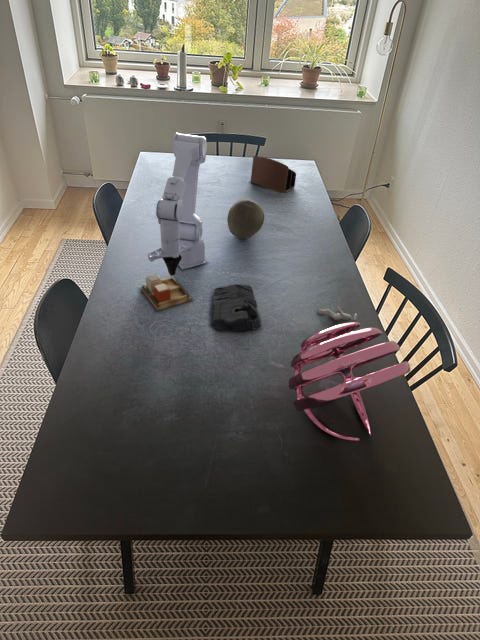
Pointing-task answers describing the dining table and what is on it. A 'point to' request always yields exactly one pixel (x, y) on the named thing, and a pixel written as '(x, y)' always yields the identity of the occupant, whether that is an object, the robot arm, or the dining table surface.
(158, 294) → the red block with panel
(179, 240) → the robot arm
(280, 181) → the letter holder
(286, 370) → the dining table surface
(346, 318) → the soldier figure
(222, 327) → the dark slate chunk
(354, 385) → the pink slatted stand
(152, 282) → the cream panelled block
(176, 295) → the divided wooden tray
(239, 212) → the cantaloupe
